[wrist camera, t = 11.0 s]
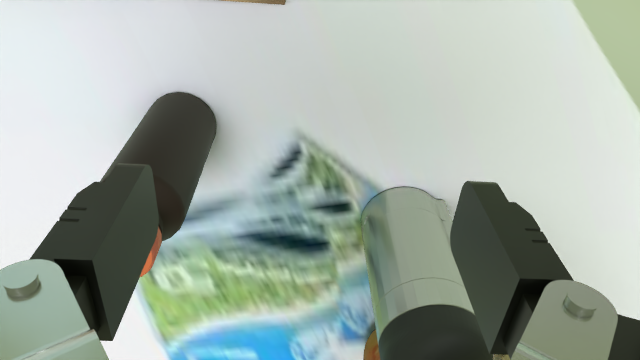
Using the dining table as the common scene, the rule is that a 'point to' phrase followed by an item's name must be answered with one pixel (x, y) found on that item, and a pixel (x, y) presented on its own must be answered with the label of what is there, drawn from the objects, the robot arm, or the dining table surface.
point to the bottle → (171, 157)
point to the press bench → (261, 1)
